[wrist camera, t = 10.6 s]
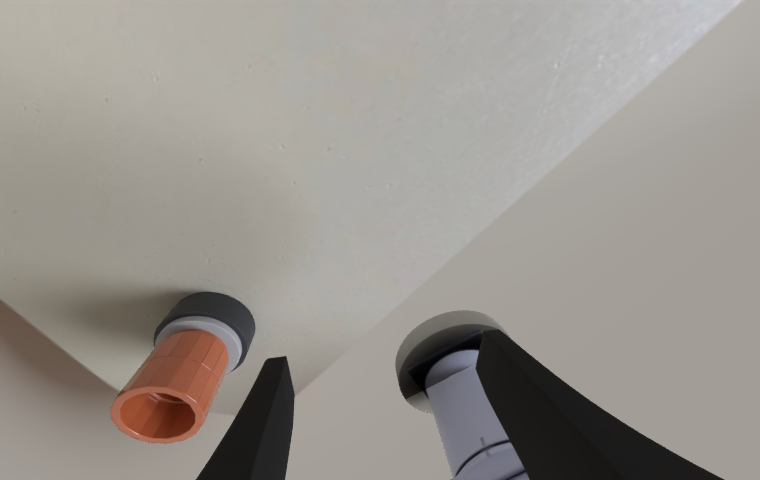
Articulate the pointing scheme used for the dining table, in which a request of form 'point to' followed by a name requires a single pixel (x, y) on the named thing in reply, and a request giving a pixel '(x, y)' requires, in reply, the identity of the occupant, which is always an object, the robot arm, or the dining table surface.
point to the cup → (172, 388)
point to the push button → (213, 323)
